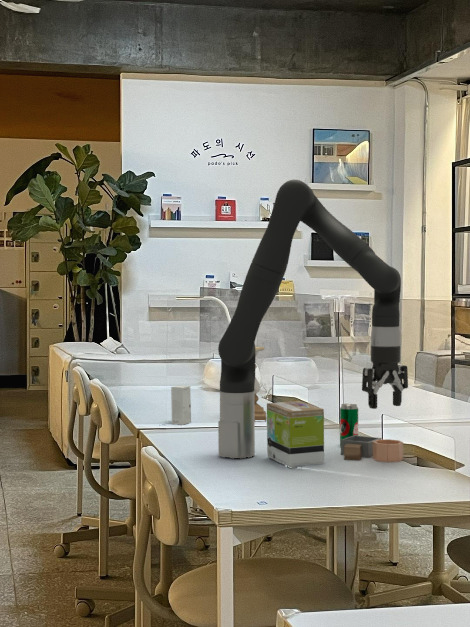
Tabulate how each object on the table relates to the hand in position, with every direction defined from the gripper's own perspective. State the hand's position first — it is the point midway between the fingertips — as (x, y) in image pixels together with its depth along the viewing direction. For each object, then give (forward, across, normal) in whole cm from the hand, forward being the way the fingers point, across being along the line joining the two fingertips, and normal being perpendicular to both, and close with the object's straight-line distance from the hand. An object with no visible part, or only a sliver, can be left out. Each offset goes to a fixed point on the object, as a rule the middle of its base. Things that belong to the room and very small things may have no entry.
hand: (385, 407), depth 246 cm
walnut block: (+14, -6, +5) cm, 16 cm away
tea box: (+14, -19, +13) cm, 27 cm away
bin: (+14, 0, +9) cm, 16 cm away
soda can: (+14, +6, +19) cm, 25 cm away
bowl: (+14, 0, -1) cm, 14 cm away
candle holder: (+14, +15, +77) cm, 80 cm away
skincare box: (+14, -8, +84) cm, 85 cm away
